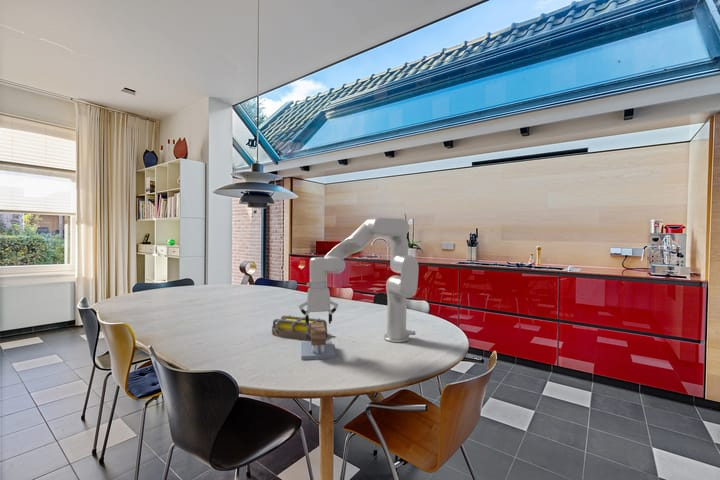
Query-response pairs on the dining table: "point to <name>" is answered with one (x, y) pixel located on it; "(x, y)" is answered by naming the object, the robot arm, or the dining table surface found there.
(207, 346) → the dining table surface
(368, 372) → the dining table surface
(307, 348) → the peg stand
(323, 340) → the brick
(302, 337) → the cage light
